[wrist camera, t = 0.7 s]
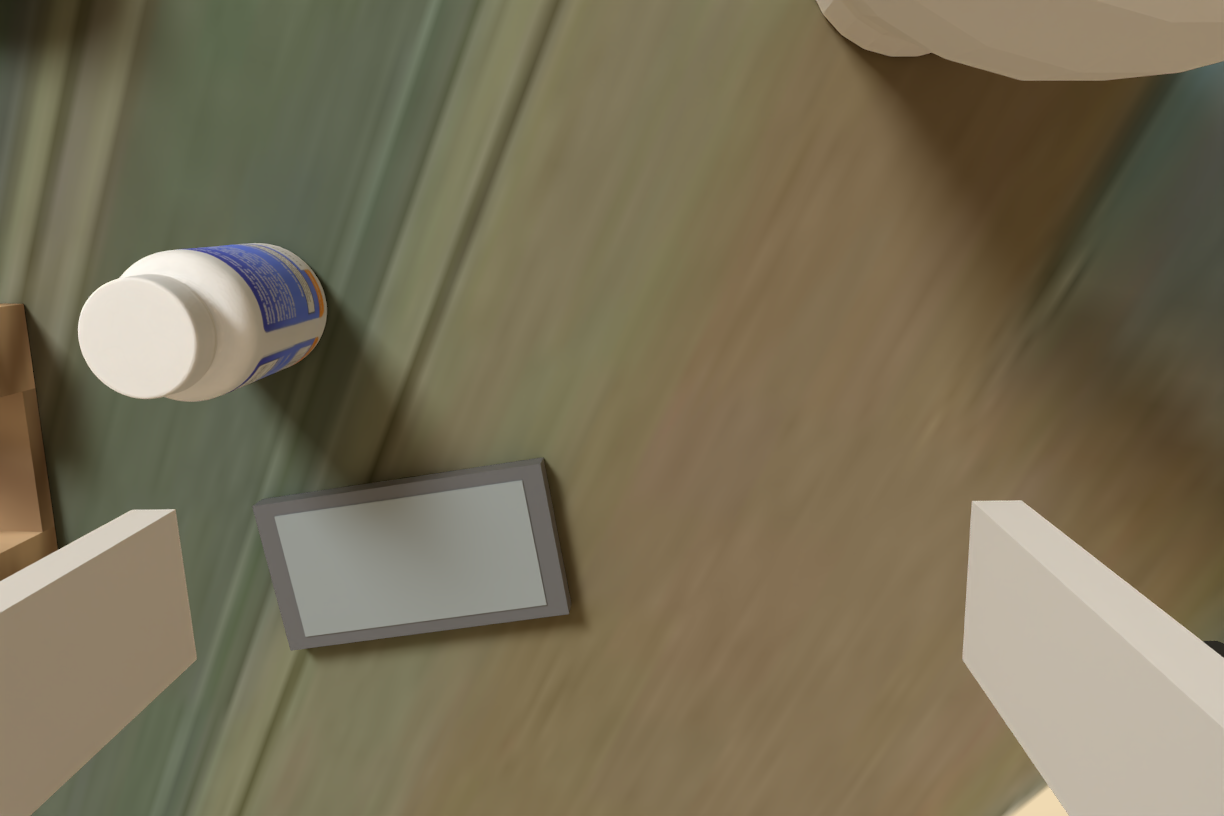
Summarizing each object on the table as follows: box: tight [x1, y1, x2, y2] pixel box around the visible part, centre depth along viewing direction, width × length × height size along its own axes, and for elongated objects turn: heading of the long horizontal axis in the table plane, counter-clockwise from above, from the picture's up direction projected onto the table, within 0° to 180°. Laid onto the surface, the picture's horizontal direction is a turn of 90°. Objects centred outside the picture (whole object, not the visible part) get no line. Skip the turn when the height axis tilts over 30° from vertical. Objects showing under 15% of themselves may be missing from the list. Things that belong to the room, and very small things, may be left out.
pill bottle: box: [78, 243, 327, 402], centre depth 32 cm, size 5×5×10 cm
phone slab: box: [252, 458, 571, 650], centre depth 39 cm, size 7×13×1 cm, turn 100°
